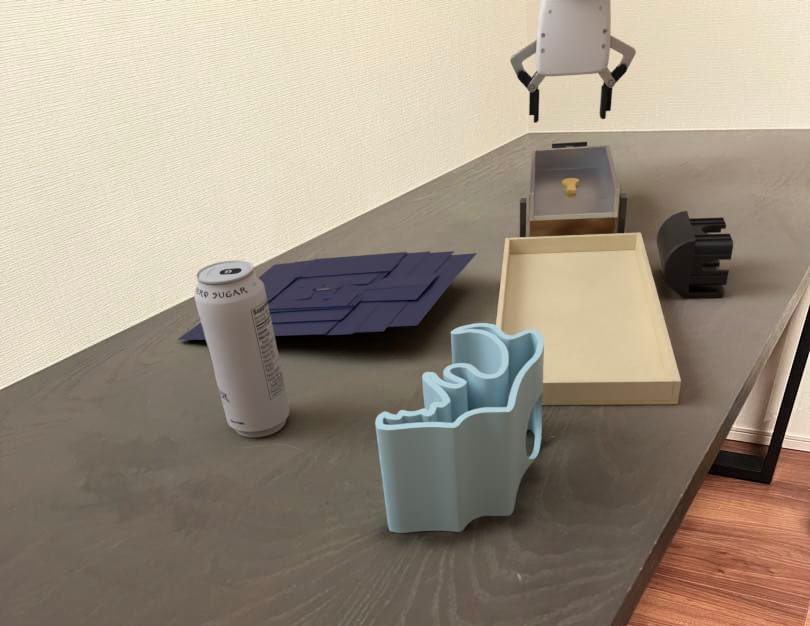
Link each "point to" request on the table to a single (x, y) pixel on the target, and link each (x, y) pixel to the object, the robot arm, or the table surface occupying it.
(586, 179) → the dish
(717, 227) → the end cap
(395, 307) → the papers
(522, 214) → the dish stand
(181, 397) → the table surface
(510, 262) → the tray
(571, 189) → the key
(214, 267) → the energy drink can
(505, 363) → the squiggly pen holder
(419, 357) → the table surface
